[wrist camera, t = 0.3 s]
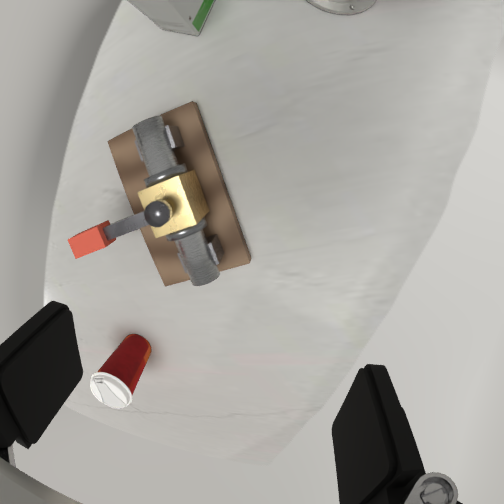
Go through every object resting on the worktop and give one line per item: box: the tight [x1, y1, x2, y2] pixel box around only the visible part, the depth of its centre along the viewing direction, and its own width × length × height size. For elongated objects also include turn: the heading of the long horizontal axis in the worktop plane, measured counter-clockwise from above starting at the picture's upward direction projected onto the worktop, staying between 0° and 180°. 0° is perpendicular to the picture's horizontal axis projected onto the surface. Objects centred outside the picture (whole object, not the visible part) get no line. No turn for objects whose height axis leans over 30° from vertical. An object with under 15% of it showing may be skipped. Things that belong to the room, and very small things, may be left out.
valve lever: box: [68, 199, 172, 259], centre depth 34 cm, size 14×3×3 cm, turn 108°
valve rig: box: [108, 101, 251, 286], centre depth 39 cm, size 24×14×11 cm, turn 18°
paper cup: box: [90, 334, 151, 409], centre depth 49 cm, size 8×8×14 cm
